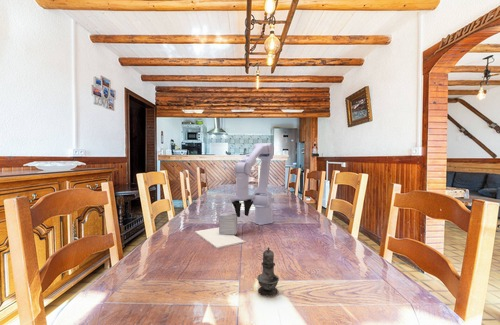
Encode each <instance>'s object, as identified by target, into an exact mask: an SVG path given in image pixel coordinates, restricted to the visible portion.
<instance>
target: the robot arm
mask: <svg viewBox="0 0 500 325" xmlns="http://www.w3.org/2000/svg"><path fill="white" fill-rule="evenodd" d="M274 152H275V146H274V144H273V143H272V142H256V143H255V144H253V149H252V152H251V153H246V154H245V156H244V158H242V159H241V161H239V162H236V163H235V165H234V169H233V171H234V173H235V178H236V196H231V197H227V203H231V204H232V206H233V209H234V210H235V214H237V218H241V207H242V202H243V206H244V207H243V208H244V211H243V212H244V213H243V214H244V216H246V217H249V213H250V209H251V208H252V205H253V207H254V220H252V221H251V222H252V223H254V224H256V225H259V226H263V225H267V224H269V225H270V224H274V220H273V219H274V218H273V217H274V216H273V215H274V214H273V213H274V211H273V207H272V206H271V205H272V202H273V200H272V199H273V198H272V193H271V191H270V190H269V189H268V184H269V178H270V177H269V176H270V168H271V167H270V166H271V160H273V158H274ZM257 158H258V159H259V160H260V161H261V164H260V170H259V178H258V179H259V180H258V186H257V188H256V189H255V190H253V194H252V195H249V189H250V188H249V187H250V186H249V185H250V184H249V180H250V176H249V175H250V174H251V172H252V168H253V166H254V165H255V164H256V163H257Z"/></svg>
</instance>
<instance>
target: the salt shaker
mask: <svg viewBox="0 0 500 325" xmlns="http://www.w3.org/2000/svg"><path fill="white" fill-rule="evenodd" d="M274 257H275V256H274V251H272V250H270V247H267V248H266V250H264V251H263V253H262V262H261V266H262V272H261V273H259V274H258V275H257V278H256V279H257V281H258V284H259V288H257V289H258V290H257V292H258V294H260V296H263V297H267V298H268V297H269V298H271V297H275V296H276V295H277V294H278V292H279V290H278V288H277V285H278V283H279V281H280V277H279V276H278V275H277V274H276V273H275V268H274V267H275V266H276V263H275V261H274V259H275V258H274Z"/></svg>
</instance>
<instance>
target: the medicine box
mask: <svg viewBox="0 0 500 325" xmlns="http://www.w3.org/2000/svg"><path fill="white" fill-rule="evenodd" d="M218 227H219V234H232V235H235V236H236V235H237V233H238V217H237V214H236V213H221V214H219V216H218Z"/></svg>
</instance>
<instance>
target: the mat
mask: <svg viewBox="0 0 500 325" xmlns="http://www.w3.org/2000/svg"><path fill="white" fill-rule="evenodd" d="M194 233H195V234H196V235H197V236H199V237H200V238H202V239H203V240H204V241H206V242H207V243H208V244H210V245H211V246H213V247H214V248H215V249H222V248H226V247H231V246H235V245H240V244H244V243H246V241H245V240H243V239H242V238H241V237H238V236H236V235H232V234H219V226H218V227H213V228H212V227H211V228H207V229H202V230H201V229H200V230H195V231H194Z"/></svg>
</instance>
